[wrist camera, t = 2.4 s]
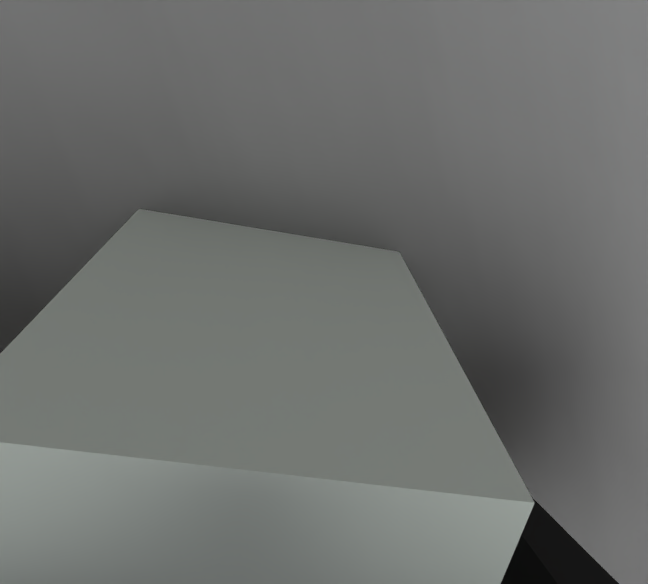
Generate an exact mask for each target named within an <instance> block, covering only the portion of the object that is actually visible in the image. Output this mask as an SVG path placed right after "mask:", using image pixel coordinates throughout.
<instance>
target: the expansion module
mask: <svg viewBox="0 0 648 584" xmlns="http://www.w3.org/2000/svg"><path fill="white" fill-rule="evenodd" d="M533 506H534V501H533V499H532V497H531V495H530V493H529V491H528V490H527V488H526V486H525V484H524V482H523V480H522V478H521V477H520V475H519V473H518V471H517V469H516V467H515V465H514V464H513V462H512V460H511V458H510V456H509V454H508V452H507V451H506V449H505V447H504V445H503V443H502V441H501V440H500V438H499V436H498V434H497V432H496V430H495V428H494V427H493V425H492V423H491V421H490V419H489V417H488V415H487V414H486V412H485V410H484V408H483V406H482V404H481V402H480V401H479V399H478V397H477V395H476V393H475V391H474V389H473V388H472V386H471V384H470V382H469V380H468V378H467V377H466V375H465V373H464V371H463V369H462V367H461V365H460V364H459V362H458V360H457V358H456V356H455V354H454V352H453V351H452V349H451V347H450V345H449V343H448V341H447V339H446V338H445V336H444V334H443V332H442V330H441V328H440V326H439V325H438V323H437V321H436V319H435V317H434V315H433V313H432V312H431V310H430V308H429V306H428V304H427V302H426V301H425V299H424V297H423V295H422V293H421V291H420V289H419V288H418V286H417V284H416V282H415V280H414V278H413V276H412V275H411V273H410V271H409V269H408V267H407V265H406V263H405V262H404V260H403V258H402V256H401V254H400V252H398V251H392V250H386V249H380V248H374V247H368V246H362V245H356V244H350V243H343V242H337V241H331V240H325V239H319V238H313V237H307V236H301V235H295V234H289V233H283V232H277V231H271V230H265V229H259V228H253V227H247V226H241V225H235V224H228V223H222V222H216V221H210V220H204V219H198V218H192V217H186V216H180V215H174V214H168V213H162V212H156V211H150V210H144V209H138V210H137V211H136V212H135V213H134V214H133V216H132V217H131V218H130V219H129V220H128V221H127V222H126V223H125V224H124V225H123V226H122V227H121V228H120V229H119V230H118V231H117V232H116V233H115V234H114V235H113V236H112V237H111V239H110V240H109V241H108V242H107V243H106V244H105V245H104V246H103V247H102V248H101V249H100V250H99V251H98V252H97V253H96V254H95V255H94V256H93V257H92V258H91V259H90V260H89V261H88V263H87V264H86V265H85V266H84V267H83V268H82V269H81V270H80V271H79V272H78V273H77V274H76V275H75V276H74V277H73V278H72V279H71V280H70V281H69V282H68V283H67V284H66V286H65V287H64V288H63V289H62V290H61V291H60V292H59V293H58V294H57V295H56V296H55V297H54V298H53V299H52V300H51V301H50V302H49V303H48V304H47V305H46V306H45V307H44V308H43V310H42V311H41V312H40V313H39V314H38V315H37V316H36V317H35V318H34V319H33V320H32V321H31V322H30V323H29V324H28V325H27V326H26V327H25V328H24V329H23V330H22V331H21V333H20V334H19V335H18V336H17V337H16V338H15V339H14V340H13V341H12V342H11V343H10V344H9V345H8V346H7V347H6V348H5V349H4V350H3V351H2V352H1V353H0V584H501V582H502V579H503V577H504V575H505V572H506V570H507V567H508V565H509V563H510V560H511V558H512V556H513V553H514V551H515V548H516V546H517V544H518V541H519V539H520V537H521V534H522V532H523V529H524V527H525V525H526V522H527V520H528V518H529V515H530V513H531V511H532V508H533Z"/></svg>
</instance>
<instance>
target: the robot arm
mask: <svg viewBox="0 0 648 584" xmlns="http://www.w3.org/2000/svg"><path fill="white" fill-rule="evenodd" d="M532 499H533V498H532ZM533 501H534V506H533V508H532V511H531V513H530V515H529V518H528V520H527V522H526V525H525V527H524V529H523V532H522V534H521V537H520V539H519V541H518V544H517V546H516V548H515V551H514V553H513V556H512V558H511V560H510V563H509V565H508V567H507V570H506V572H505V575H504V577H503V579H502V582H501V584H619V583H618V582H617V581H616V580H615V579H614V578H613V577H612V576H611V575H609V574H608V573H607V572H606V571H605V570H604V569H603V568H602V567H601V566H600V565H599V564H598V563H597V562H596V561H595V560H594V559H593V558H592V557H591V556H590V555H589V554H588V553H587V552H586V551H585V550H584V549H583V548H582V547H581V546H580V545H579V544H578V543H577V542H576V541H575V540H574V539H573V538H572V537H571V536H570V535H569V534H568V533H567V532H566V531H565V530H564V529H563V528H562V527H561V526H560V525H559V524H558V523H557V522H556V521H555V520H554V519H553V518H552V517H551V516H550V515H549V514H548V513H547V512H546V511H545V510H544V509H543V508H542V507H541V506H540V505H539V504H538V503H537V502H536V501H535V500H534V499H533Z"/></svg>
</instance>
